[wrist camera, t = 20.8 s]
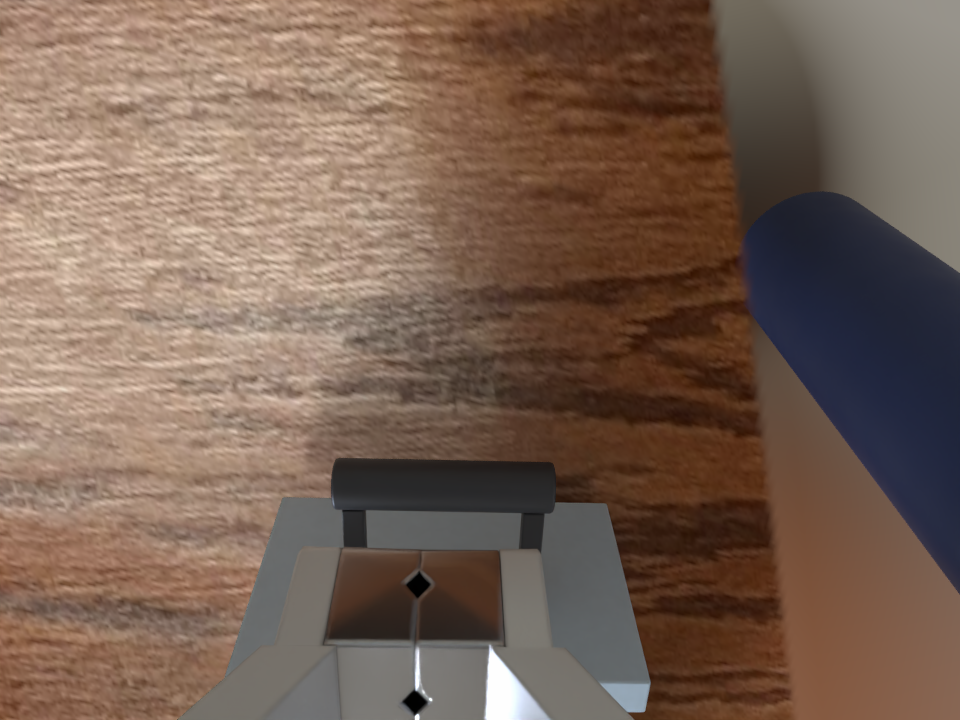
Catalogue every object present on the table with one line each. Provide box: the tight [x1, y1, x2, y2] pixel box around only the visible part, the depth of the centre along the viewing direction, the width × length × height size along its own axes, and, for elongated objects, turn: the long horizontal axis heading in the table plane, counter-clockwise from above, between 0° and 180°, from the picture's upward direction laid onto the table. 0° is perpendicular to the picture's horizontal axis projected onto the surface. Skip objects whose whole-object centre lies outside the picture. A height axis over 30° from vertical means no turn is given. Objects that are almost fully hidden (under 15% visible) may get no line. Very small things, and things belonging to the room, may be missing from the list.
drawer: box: [225, 458, 651, 712], centre depth 27 cm, size 18×11×8 cm, turn 178°
